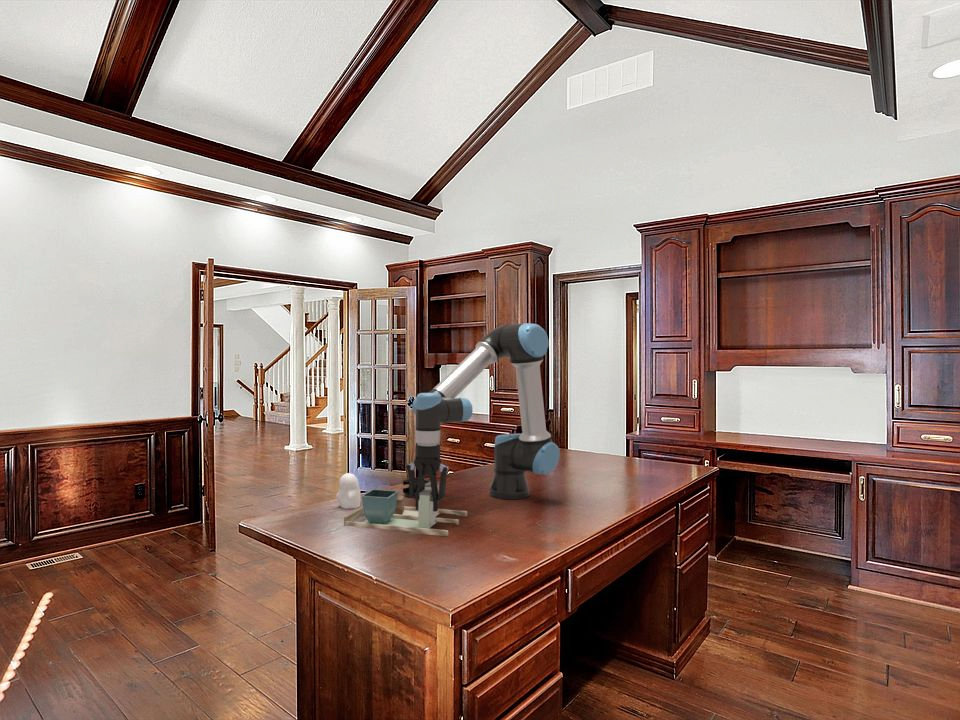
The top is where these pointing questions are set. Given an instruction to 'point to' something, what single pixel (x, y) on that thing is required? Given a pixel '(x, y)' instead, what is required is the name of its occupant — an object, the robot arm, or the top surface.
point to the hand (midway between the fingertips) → (426, 521)
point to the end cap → (406, 490)
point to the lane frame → (360, 512)
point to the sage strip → (423, 513)
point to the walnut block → (399, 505)
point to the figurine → (349, 492)
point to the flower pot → (379, 505)
